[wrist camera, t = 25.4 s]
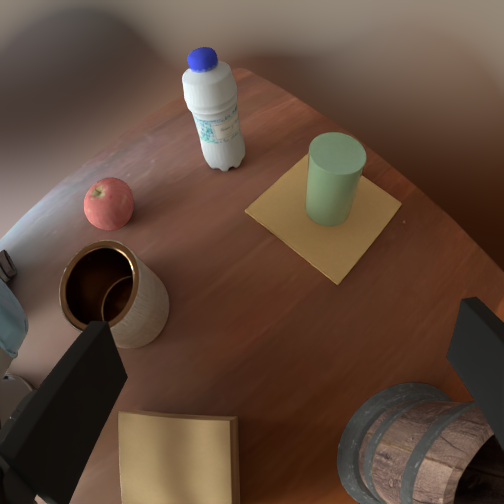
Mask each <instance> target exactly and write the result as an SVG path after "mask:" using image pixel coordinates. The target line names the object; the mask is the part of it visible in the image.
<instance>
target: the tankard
mask: <svg viewBox="0 0 504 504" xmlns="http://www.w3.org/2000/svg"><path fill="white" fill-rule="evenodd" d="M337 469H338V475H339V478H340V480H341V483H342V485H343V487H344V488H345V490H346V491H347V493H348V494H349V495H350V496H351V497H352V498H353V499H355V500H356V501H357V502H359V503H361V504H504V451H503V449H502V447H501V445H500V444H499V442H498V440H497V438H496V436H495V435H494V433H493V431H492V429H491V428H490V426H489V424H488V422H487V421H486V419H485V417H484V416H483V414H482V412H481V411H480V409H479V407H478V406H477V404H476V402H475V401H470V402H453V401H452V400H451V399H450V398H449V397H448V396H447V395H446V394H445V393H444V392H442V391H441V390H439V389H438V388H436V387H434V386H431V385H428V384H424V383H416V382H412V383H402V384H398V385H395V386H391V387H388V388H386V389H384V390H382V391H380V392H378V393H377V394H375V395H374V396H373V397H371V398H370V399H368V400H367V401H366V402H365V403H364V404H363V405H362V406H361V407H360V408H359V409H358V410H357V411H356V412H355V413H354V415H353V416H352V418H351V419H350V420H349V422H348V423H347V425H346V427H345V429H344V431H343V433H342V436H341V439H340V442H339V446H338V451H337Z"/></svg>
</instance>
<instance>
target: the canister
mask: <svg viewBox="0 0 504 504" xmlns="http://www.w3.org/2000/svg"><path fill="white" fill-rule="evenodd" d="M365 162H366V152H365V150H364V148H363V146H362V145H361V144H360V143H359V142H358V141H357V140H356V139H354V138H353V137H351V136H349V135H346V134H343V133H337V132H329V133H324V134H321V135H319V136H317V137H316V138H315V139H314V140H313V141H312V142H311V144H310V147H309V157H308V170H307V182H306V193H305V204H304V205H305V211H306V213H307V215H308V216H309V217H310V219H311V220H313V221H314V222H316V223H317V224H320V225H323V226H336V225H339V224H341V223H343V222H344V221H345V220H346V219H347V218H348V216H349V214H350V211H351V208H352V205H353V202H354V199H355V196H356V192H357V189H358V186H359V183H360V179H361V176H362V173H363V169H364V166H365Z"/></svg>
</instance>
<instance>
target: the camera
mask: <svg viewBox="0 0 504 504" xmlns="http://www.w3.org/2000/svg"><path fill="white" fill-rule="evenodd" d="M16 273H17V272H16V269H15V266H14V264H13V262H12V260H11V258H10V256H9V255H8V253H7V252H6V251H5V250H3V251H1V252H0V278H1V279H2V281H3V282H4V283H5V284H6V283H7V281H8V280H10V279H11V278H12V276H13V275H15V274H16Z"/></svg>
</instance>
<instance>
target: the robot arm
mask: <svg viewBox="0 0 504 504" xmlns="http://www.w3.org/2000/svg"><path fill="white" fill-rule="evenodd" d="M27 332H28V320H27V316H26V314H25V312H24V310H23V308H22V306H21V304H20V303H19V301H18V300H17V298H16V297H15V296H14V294H13V293H12V292H11V290H10V289H9V288H8V287H7V285H6V284H5V283H4V282H3V281H2V279H1V278H0V504H37V502H36V501H35V500H34V499H35V497H36V495H38V496H39V497H41V498H42V499H43V500H44V501H45V502H46V503H47V504H69V502H70V500H71V498H72V495H73V493H74V491H75V488H76V486H77V484H78V481H79V479H80V477H81V475H82V472H83V470H84V468H85V466H86V464H87V461H88V459H89V457H90V455H91V453H92V450H93V448H94V446H95V444H96V442H97V440H98V438H99V435H100V433H101V431H102V429H103V427H104V425H105V423H106V421H107V419H108V417H109V415H110V412H111V410H112V408H113V406H114V404H115V402H116V400H117V398H118V396H119V394H120V392H121V390H122V388H123V386H124V384H125V382H126V380H127V378H128V376H127V374H126V371H125V369H124V366H123V363H122V361H121V358H120V355H119V353H118V350H117V347H116V344H115V341H114V338H113V335H112V332H111V329H110V326H109V323H108V321H91V322H90V323H89V324H88V325H87V327H86V328H85V329H84V330H83V332H82V333H81V334H80V335H79V336H78V338H77V339H76V340H75V341H74V343H73V344H72V345H71V346H70V348H69V349H68V350H67V351H66V353H65V354H64V355H63V357H62V358H61V359H60V360H59V362H58V363H57V364H56V366H55V367H54V368H53V369H52V371H51V372H50V373H49V375H48V376H47V377H46V379H45V380H44V381H43V383H42V384H41V385H40V387H39V388H38V390H36V389H35V388H34V387H33V386H32V385H31V384H30V383H29V382H28V381H27V380H25V379H24V378H22V377H20V376H17V375H12V374H5V373H6V371H7V369H8V367H9V365H10V364H11V362H12V360H13V358H16V357H17V355H18V350H19V348H20V346H21V344H22V342H23V340H24V338H25V337H26V334H27ZM446 358H447V359H448V360H449V362H450V363H451V365H452V366H453V368H454V369H455V371H456V372H457V374H458V376H459V377H460V379H461V380H462V382H463V383H464V385H465V386H466V388H467V390H468V391H469V393H470V394H471V396H472V397H473V399H474V401H475V402H476V404H477V406H478V407H479V409H480V411H481V412H482V414H483V416H484V417H485V419H486V421H487V422H488V424H489V426H490V428H491V429H492V431H493V433H494V435H495V436H496V438H497V440H498V442H499V444H500V445H501V447H502V449H503V451H504V323H503V322H502V321H501V320H500V319H499V318H498V317H497V316H496V315H495V314H494V313H493V312H492V311H491V310H490V309H489V308H488V307H487V306H486V305H485V304H484V303H483V302H481V301H480V300H479V299H478V298H477V297H471V298H465V299H461V304H460V308H459V312H458V316H457V320H456V324H455V328H454V332H453V336H452V339H451V343H450V346H449V350H448V353H447V356H446Z"/></svg>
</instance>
